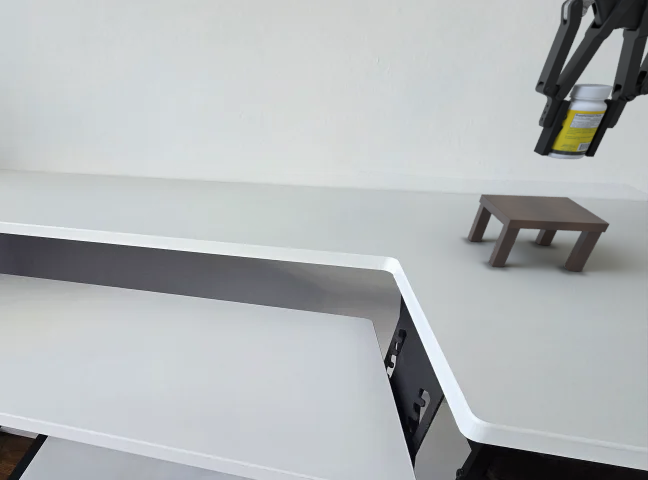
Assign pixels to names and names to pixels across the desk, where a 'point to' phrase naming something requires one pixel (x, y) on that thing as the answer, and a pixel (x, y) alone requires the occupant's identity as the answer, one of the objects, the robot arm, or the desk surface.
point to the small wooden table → (537, 224)
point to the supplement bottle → (580, 121)
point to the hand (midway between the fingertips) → (562, 153)
